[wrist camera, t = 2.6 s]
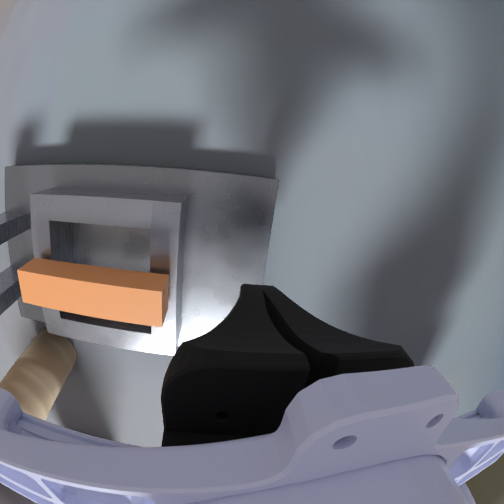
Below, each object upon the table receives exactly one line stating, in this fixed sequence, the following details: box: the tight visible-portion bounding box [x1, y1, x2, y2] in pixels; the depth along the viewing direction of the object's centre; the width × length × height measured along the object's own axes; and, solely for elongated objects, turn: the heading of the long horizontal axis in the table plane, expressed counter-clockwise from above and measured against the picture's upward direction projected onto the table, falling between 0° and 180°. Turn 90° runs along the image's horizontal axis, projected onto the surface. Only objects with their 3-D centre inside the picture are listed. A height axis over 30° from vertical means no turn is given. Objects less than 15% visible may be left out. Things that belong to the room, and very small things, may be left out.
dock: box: [0, 164, 279, 356], centre depth 13 cm, size 16×10×5 cm, turn 82°
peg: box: [0, 328, 77, 420], centre depth 14 cm, size 4×4×7 cm
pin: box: [17, 258, 169, 327], centre depth 11 cm, size 7×2×2 cm, turn 82°
